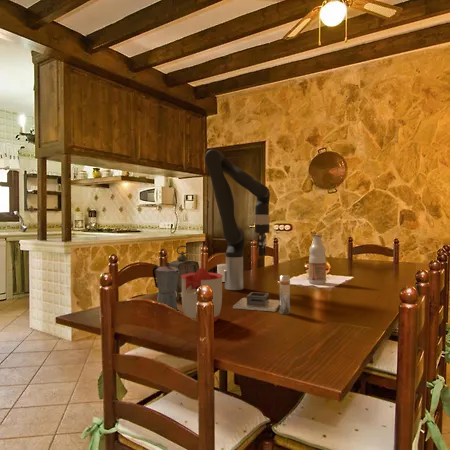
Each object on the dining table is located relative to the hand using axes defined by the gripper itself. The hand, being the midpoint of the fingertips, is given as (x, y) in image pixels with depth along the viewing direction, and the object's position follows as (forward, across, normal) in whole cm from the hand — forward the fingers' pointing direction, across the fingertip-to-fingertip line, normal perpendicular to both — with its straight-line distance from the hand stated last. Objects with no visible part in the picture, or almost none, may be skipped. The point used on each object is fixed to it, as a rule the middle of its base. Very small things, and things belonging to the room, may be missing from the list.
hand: (262, 255), depth 187 cm
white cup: (+18, -23, -26) cm, 39 cm away
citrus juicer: (+21, +56, -15) cm, 62 cm away
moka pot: (+20, +45, -34) cm, 60 cm away
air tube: (+20, +38, +14) cm, 46 cm away
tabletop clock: (+20, +22, -36) cm, 46 cm away
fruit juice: (+18, -30, +27) cm, 44 cm away
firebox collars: (+20, +28, +2) cm, 35 cm away
